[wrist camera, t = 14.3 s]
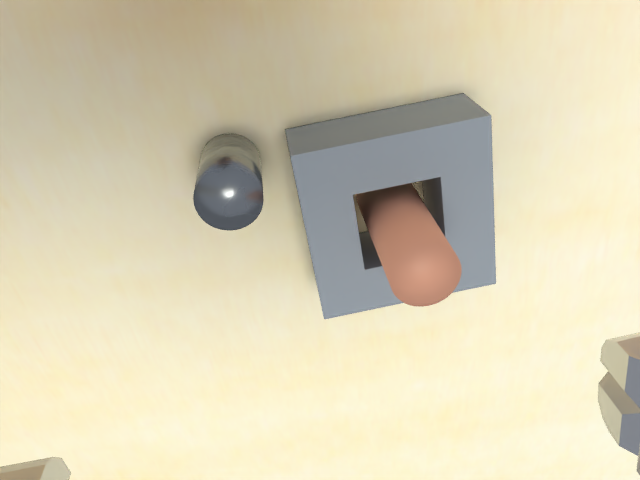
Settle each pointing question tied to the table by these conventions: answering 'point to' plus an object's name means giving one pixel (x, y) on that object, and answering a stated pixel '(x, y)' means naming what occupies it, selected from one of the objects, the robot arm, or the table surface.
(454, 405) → the table surface
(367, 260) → the bore block
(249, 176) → the short pin
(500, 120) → the table surface
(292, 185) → the table surface
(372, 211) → the long pin
